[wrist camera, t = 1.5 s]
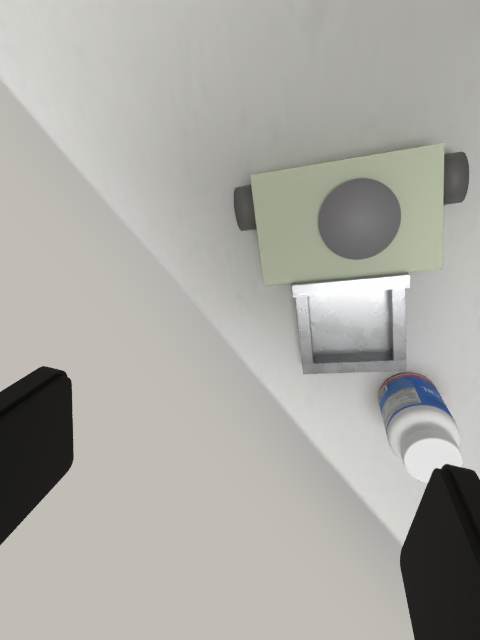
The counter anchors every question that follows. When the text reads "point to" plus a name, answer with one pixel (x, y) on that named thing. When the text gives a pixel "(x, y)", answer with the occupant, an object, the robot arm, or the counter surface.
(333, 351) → the gray square tray
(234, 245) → the counter surface
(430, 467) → the pill bottle
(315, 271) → the green block with knobs
